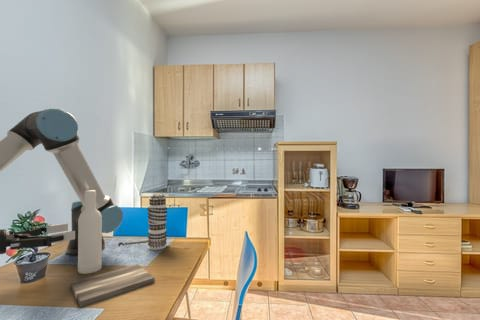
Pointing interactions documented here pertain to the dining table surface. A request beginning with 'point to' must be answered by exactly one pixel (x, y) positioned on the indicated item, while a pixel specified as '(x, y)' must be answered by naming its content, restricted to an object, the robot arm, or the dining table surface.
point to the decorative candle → (157, 222)
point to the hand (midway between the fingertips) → (71, 230)
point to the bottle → (90, 236)
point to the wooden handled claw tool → (132, 243)
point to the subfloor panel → (110, 284)
